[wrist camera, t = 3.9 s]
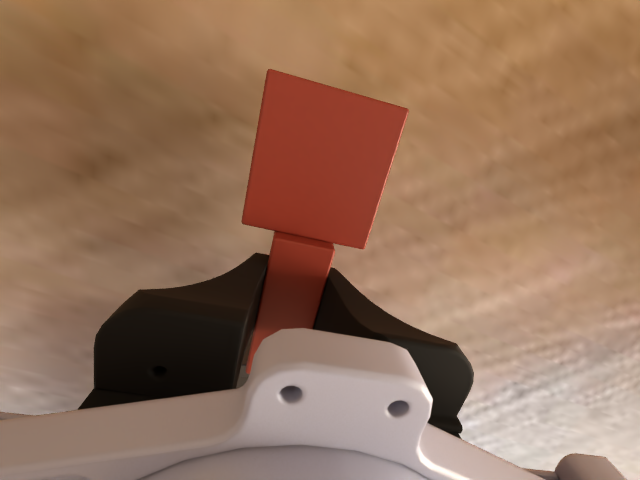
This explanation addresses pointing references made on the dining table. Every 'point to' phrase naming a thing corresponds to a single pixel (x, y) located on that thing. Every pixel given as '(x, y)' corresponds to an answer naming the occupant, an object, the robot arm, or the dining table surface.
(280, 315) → the brush
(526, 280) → the dining table surface
